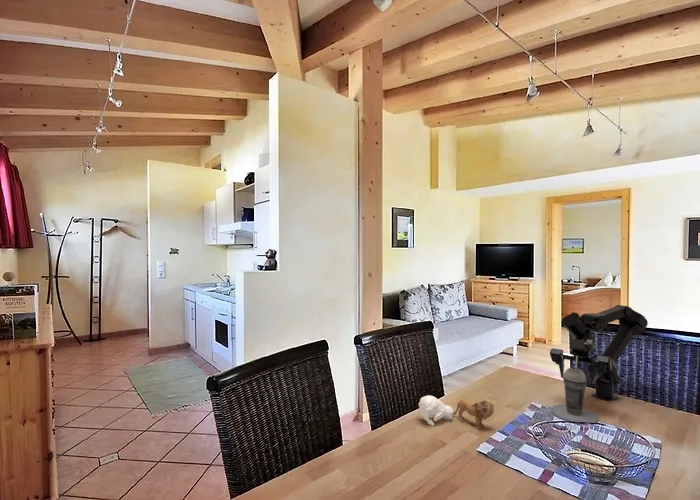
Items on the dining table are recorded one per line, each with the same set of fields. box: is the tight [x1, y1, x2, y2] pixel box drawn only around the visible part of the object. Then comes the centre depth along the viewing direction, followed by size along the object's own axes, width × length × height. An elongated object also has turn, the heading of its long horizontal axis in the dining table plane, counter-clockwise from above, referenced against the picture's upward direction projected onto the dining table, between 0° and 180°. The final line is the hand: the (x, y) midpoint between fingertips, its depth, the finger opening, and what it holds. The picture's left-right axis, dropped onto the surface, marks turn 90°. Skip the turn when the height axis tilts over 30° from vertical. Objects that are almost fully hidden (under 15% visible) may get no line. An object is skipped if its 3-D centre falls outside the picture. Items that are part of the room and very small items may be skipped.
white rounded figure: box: [418, 395, 454, 427], centre depth 126 cm, size 6×8×12 cm
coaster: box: [550, 404, 599, 423], centre depth 131 cm, size 14×14×1 cm
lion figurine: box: [453, 399, 495, 430], centre depth 125 cm, size 15×5×9 cm, turn 46°
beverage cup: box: [562, 356, 588, 416], centre depth 131 cm, size 7×7×20 cm
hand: (576, 380), depth 133 cm, fingers open, 9 cm apart
